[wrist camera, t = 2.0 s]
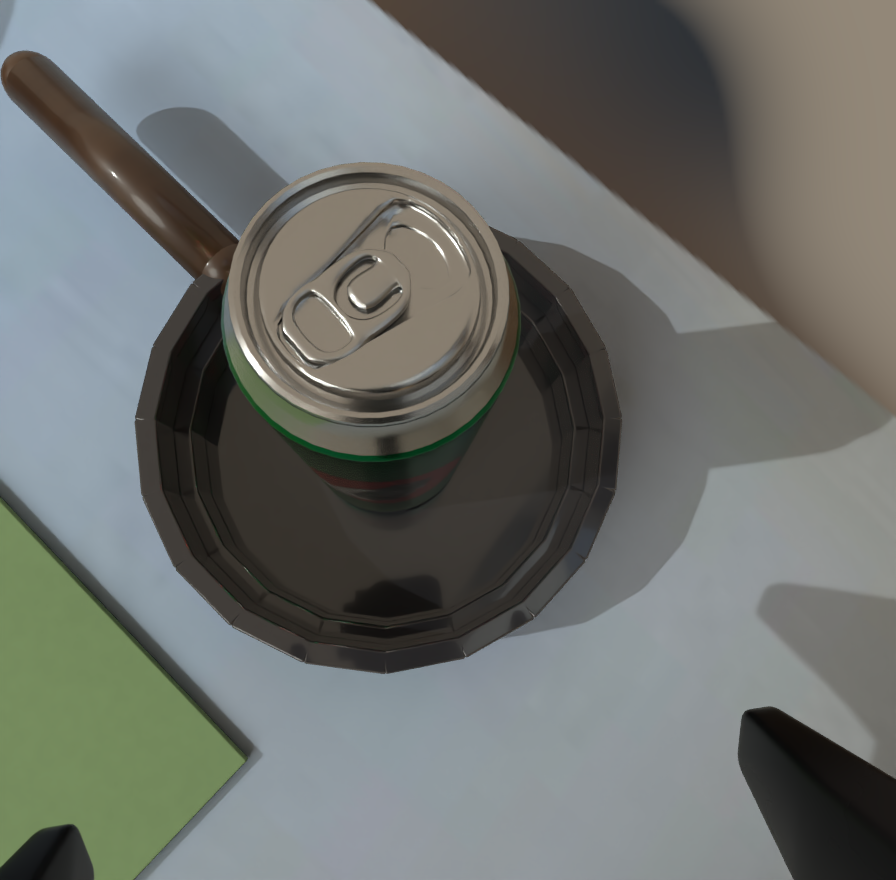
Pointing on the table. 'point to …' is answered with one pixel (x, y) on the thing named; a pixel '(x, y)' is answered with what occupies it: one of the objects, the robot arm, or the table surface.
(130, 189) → the pan handle
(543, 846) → the table surface
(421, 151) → the table surface
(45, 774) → the napkin
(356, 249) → the soda can
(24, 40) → the table surface
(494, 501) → the pan
